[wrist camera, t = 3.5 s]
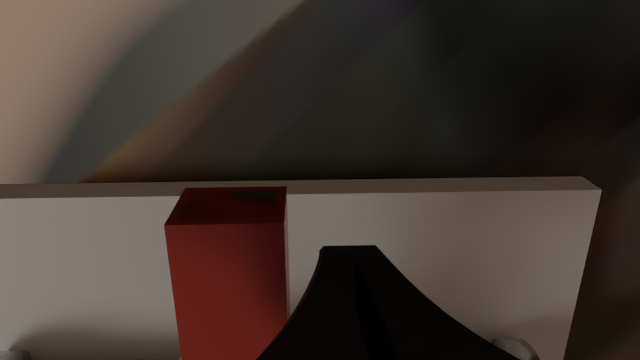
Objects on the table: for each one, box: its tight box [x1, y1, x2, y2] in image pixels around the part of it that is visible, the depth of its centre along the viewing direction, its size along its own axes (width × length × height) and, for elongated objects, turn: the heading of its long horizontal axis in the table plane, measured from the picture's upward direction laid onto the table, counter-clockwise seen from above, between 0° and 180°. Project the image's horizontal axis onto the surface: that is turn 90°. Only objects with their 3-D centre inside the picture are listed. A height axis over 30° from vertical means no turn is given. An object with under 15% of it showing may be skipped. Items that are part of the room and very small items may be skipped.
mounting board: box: [0, 176, 602, 360], centre depth 18 cm, size 22×14×1 cm, turn 90°
